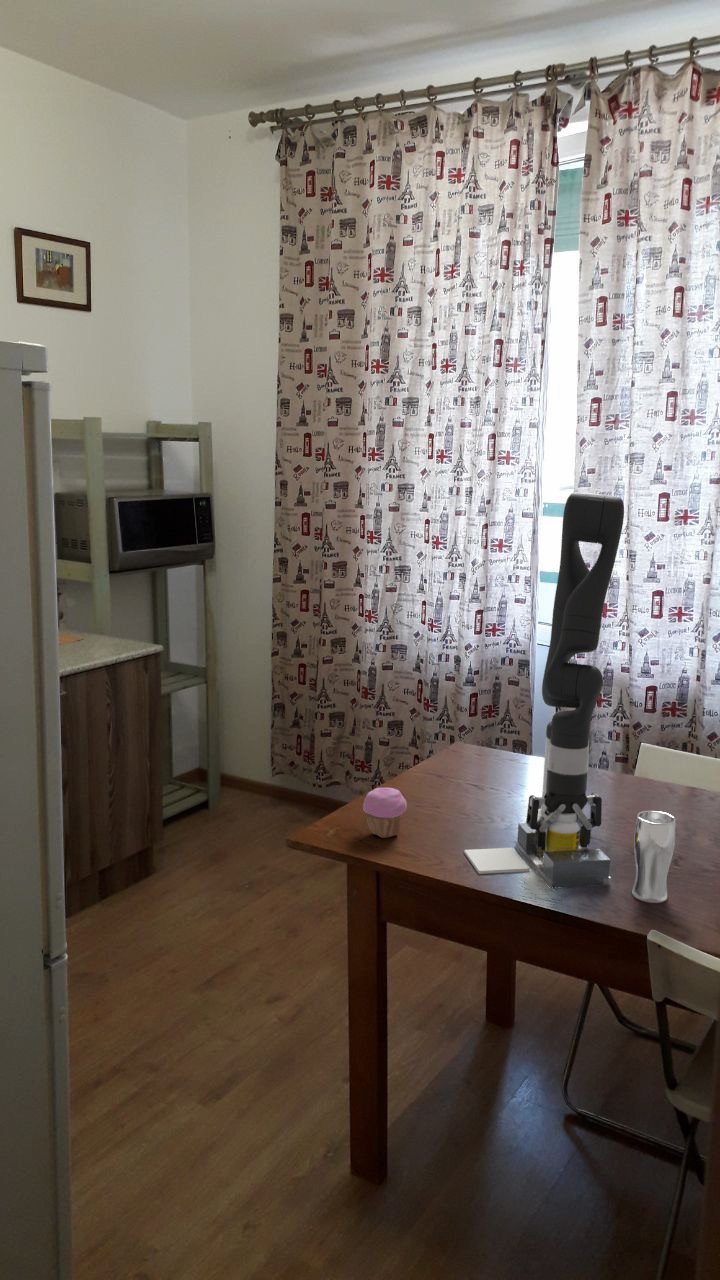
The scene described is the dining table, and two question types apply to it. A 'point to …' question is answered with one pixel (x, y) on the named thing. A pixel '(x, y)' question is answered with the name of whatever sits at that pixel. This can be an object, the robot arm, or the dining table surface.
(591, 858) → the bench vise
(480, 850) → the placing pad
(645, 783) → the dining table surface
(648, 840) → the beer glass
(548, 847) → the pill bottle
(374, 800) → the cupcake
